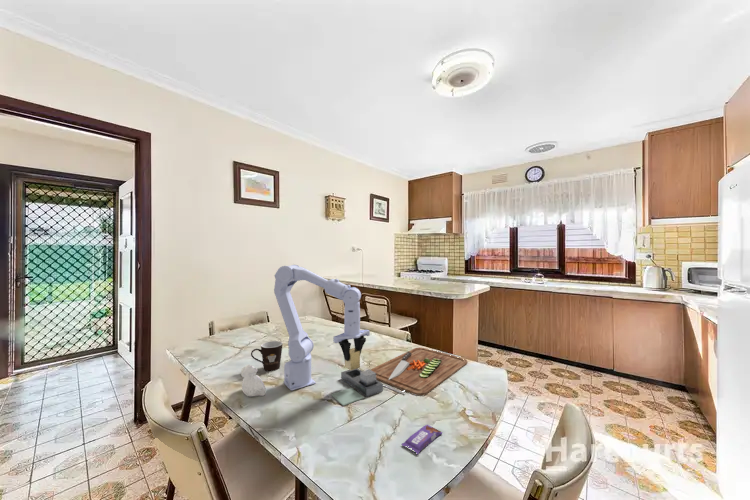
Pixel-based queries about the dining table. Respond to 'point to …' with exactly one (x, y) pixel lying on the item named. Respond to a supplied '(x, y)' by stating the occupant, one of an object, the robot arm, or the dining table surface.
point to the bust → (252, 382)
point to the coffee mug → (270, 355)
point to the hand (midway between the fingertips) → (352, 358)
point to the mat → (347, 396)
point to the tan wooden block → (353, 359)
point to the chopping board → (418, 370)
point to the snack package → (421, 438)
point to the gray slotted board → (357, 385)
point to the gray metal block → (367, 378)
